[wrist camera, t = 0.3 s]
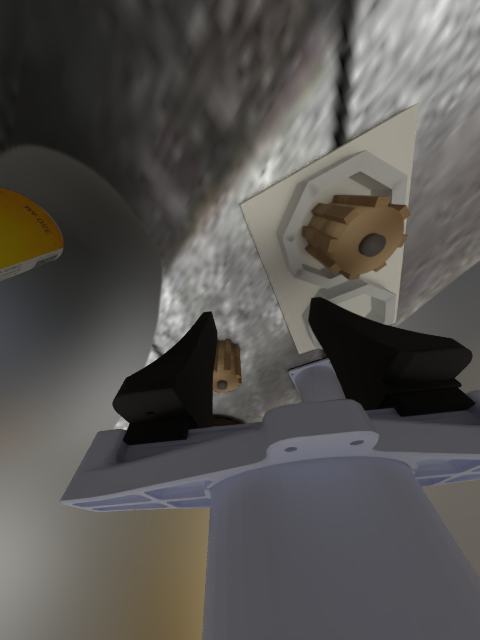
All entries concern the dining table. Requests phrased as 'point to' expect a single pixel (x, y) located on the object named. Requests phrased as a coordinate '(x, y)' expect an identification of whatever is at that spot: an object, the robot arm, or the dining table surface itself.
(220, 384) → the loose gear
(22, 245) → the beer can
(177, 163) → the dining table surface
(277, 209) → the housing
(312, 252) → the seated gear
